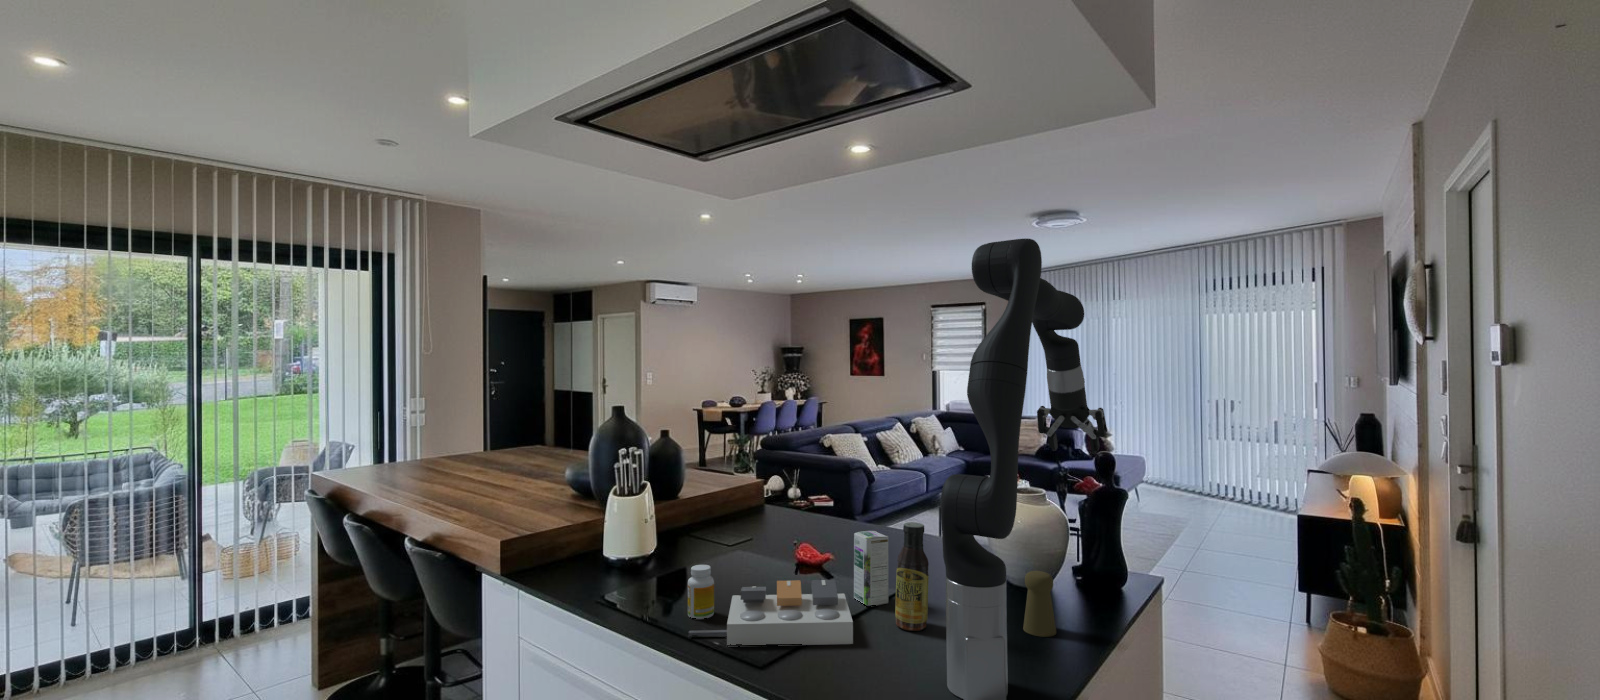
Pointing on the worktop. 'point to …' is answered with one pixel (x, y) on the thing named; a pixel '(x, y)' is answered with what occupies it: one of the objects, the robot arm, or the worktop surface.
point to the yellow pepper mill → (1039, 605)
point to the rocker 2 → (789, 593)
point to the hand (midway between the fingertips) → (1074, 450)
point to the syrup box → (871, 568)
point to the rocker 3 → (824, 592)
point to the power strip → (786, 623)
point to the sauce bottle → (912, 580)
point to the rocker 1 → (753, 594)
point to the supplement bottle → (700, 592)
